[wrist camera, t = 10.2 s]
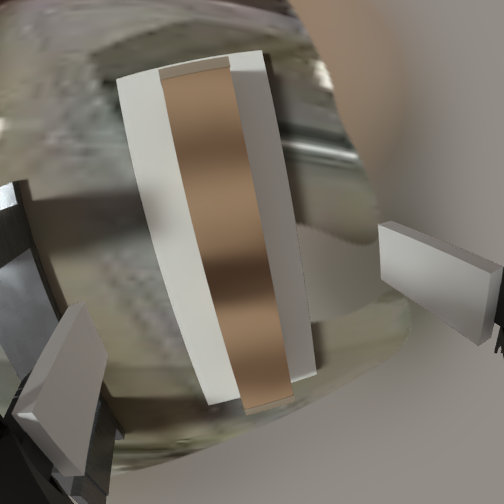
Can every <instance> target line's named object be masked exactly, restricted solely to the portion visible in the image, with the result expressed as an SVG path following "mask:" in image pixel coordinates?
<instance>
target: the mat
mask: <svg viewBox="0 0 504 504" xmlns="http://www.w3.org/2000/svg"><path fill="white" fill-rule="evenodd" d="M225 56H228V57H229V62H230V72H231V77H232V82H233V86H234V91H235V96H236V101H237V105H238V110H239V115H240V120H241V125H242V130H243V134H244V139H245V144H246V149H247V154H248V159H249V164H250V169H251V174H252V179H253V184H254V189H255V194H256V199H257V204H258V209H259V214H260V219H261V224H262V230H263V235H264V240H265V245H266V250H267V256H268V261H269V266H270V271H271V277H272V282H273V287H274V292H275V298H276V303H277V308H278V314H279V319H280V325H281V330H282V336H283V341H284V347H285V352H286V358H287V363H288V369H289V374H290V380H291V383H292V382H295V381H298V380H301V379H304V378H307V377H310V376H313V375H316V374H317V373H316V364H315V356H314V348H313V340H312V332H311V324H310V316H309V309H308V302H307V296H306V287H305V281H304V274H303V268H302V260H301V255H300V247H299V241H298V235H297V229H296V223H295V217H294V211H293V205H292V199H291V193H290V188H289V182H288V176H287V171H286V166H285V160H284V155H283V150H282V144H281V139H280V134H279V129H278V124H277V119H276V114H275V109H274V105H273V100H272V95H271V90H270V86H269V81H268V77H267V72H266V67H265V63H264V59H263V54H262V50H259V51H250V52H242V53H234V54H227V55H221V56H214V57H208V58H203V59H197V60H192V61H187V62H182V63H177V64H173V65H168V66H164V67H160V68H156V69H152V70H148V71H144V72H140V73H136V74H133V75H129V76H126V77H122V78H119V79H116V81H117V87H118V93H119V98H120V104H121V110H122V115H123V120H124V125H125V130H126V135H127V140H128V145H129V149H130V154H131V159H132V163H133V167H134V172H135V176H136V180H137V184H138V189H139V193H140V197H141V201H142V205H143V208H144V212H145V216H146V220H147V224H148V227H149V231H150V235H151V238H152V242H153V245H154V249H155V252H156V256H157V259H158V262H159V266H160V269H161V272H162V276H163V279H164V282H165V285H166V289H167V292H168V295H169V298H170V301H171V304H172V307H173V310H174V313H175V316H176V319H177V322H178V325H179V328H180V331H181V334H182V336H183V339H184V342H185V345H186V348H187V350H188V353H189V356H190V359H191V361H192V364H193V367H194V369H195V372H196V375H197V377H198V380H199V382H200V385H201V388H202V390H203V393H204V395H205V398H206V400H207V403H208V405H212V404H216V403H221V402H225V401H229V400H232V399H236V398H240V393H239V390H238V386H237V383H236V380H235V377H234V373H233V370H232V367H231V364H230V360H229V357H228V354H227V350H226V347H225V343H224V340H223V337H222V333H221V330H220V326H219V323H218V319H217V316H216V312H215V308H214V305H213V301H212V298H211V294H210V290H209V287H208V283H207V279H206V275H205V272H204V268H203V264H202V260H201V256H200V252H199V248H198V245H197V241H196V237H195V233H194V229H193V225H192V220H191V216H190V212H189V208H188V204H187V200H186V195H185V191H184V187H183V183H182V178H181V174H180V169H179V165H178V160H177V156H176V151H175V147H174V142H173V137H172V132H171V128H170V123H169V118H168V113H167V108H166V103H165V98H164V93H163V88H162V85H161V81H160V77H159V71H158V70H159V69H163V68H167V67H171V66H176V65H181V64H186V63H190V62H196V61H201V60H207V59H212V58H219V57H225Z"/></svg>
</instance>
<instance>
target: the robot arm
mask: <svg viewBox="0 0 504 504" xmlns="http://www.w3.org/2000/svg"><path fill="white" fill-rule="evenodd" d="M378 231H379V246H380V268H381V279H382V280H383V281H385V282H386V283H388V284H389V285H391V286H392V287H394V288H395V289H397V290H398V291H400V292H401V293H403V294H404V295H406V296H407V297H409V298H410V299H411V300H413V301H414V302H416V303H417V304H419V305H420V306H422V307H423V308H425V309H426V310H428V311H429V312H431V313H432V314H433V315H435V316H436V317H438V318H439V319H441V320H442V321H444V322H445V323H446V324H448V325H449V326H451V327H452V328H453V329H455V330H456V331H458V332H459V333H461V334H462V335H463V336H465V337H466V338H468V339H469V340H470V341H472V342H473V343H475V344H476V345H477V346H479V345H481V344H482V343H484V342H485V341H486V340H488V339H489V338H491V335H492V330H493V326H494V322H495V323H496V324H498V325H499V326H500V330H499V334H498V338H497V342H496V347H495V353H497V351H498V348H499V347H500V346H501V348H502V350H501V353H503V357H504V267H503V266H501V265H498V264H496V263H494V262H492V261H490V260H487V259H485V258H483V257H480V256H478V255H475V254H473V253H471V252H469V251H466V250H464V249H462V248H459V247H456V246H454V245H452V244H449V243H447V242H445V241H442V240H440V239H437V238H434V237H432V236H429V235H427V234H424V233H422V232H419V231H416V230H414V229H411V228H409V227H406V226H403V225H401V224H398V223H395V222H393V221H389V222H385V223H381V224H378ZM107 360H108V353H107V351H106V349H105V347H104V345H103V343H102V341H101V339H100V336H99V334H98V332H97V330H96V328H95V325H94V323H93V321H92V318H91V316H90V314H89V311H88V309H87V307H86V304H85V302H81V303H77V304H73V305H69V307H68V308H67V310H66V312H65V313H64V315H63V317H62V318H61V320H60V322H59V323H58V325H57V327H56V329H55V330H54V332H53V334H52V335H51V337H50V339H49V341H48V343H47V344H46V346H45V348H44V350H43V352H42V353H41V355H40V357H39V359H38V361H37V363H36V365H35V367H34V369H33V370H31V371H30V372H29V373H28V374H27V375H26V376H25V377H24V378H23V380H22V382H21V384H20V386H19V388H18V391H17V392H16V394H15V396H14V398H13V400H12V402H11V404H10V406H9V408H8V410H7V412H6V414H5V417H4V419H3V417H2V416H1V415H0V504H74V503H73V502H72V501H71V499H70V498H69V497H68V495H67V494H66V492H65V491H64V490H63V488H62V487H61V485H60V484H59V482H58V481H57V480H56V479H55V478H54V477H53V476H52V475H51V473H52V469H53V465H54V466H55V467H56V468H57V469H58V471H59V472H60V473H61V474H62V475H63V476H84V473H85V467H86V460H87V454H88V448H89V442H90V437H91V432H92V426H93V421H94V416H95V411H96V407H97V402H98V397H99V393H100V389H101V384H102V380H103V376H104V372H105V368H106V364H107Z"/></svg>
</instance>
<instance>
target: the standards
mask: <svg viewBox="0 0 504 504" xmlns="http://www.w3.org/2000/svg"><path fill="white" fill-rule="evenodd" d="M61 318H62V316H61V314H60V311H59V309H58V307H57V304H56V302H55V299H54V297H53V294H52V292H51V289H50V287H49V284H48V282H47V279H46V276H45V274H44V271H43V268H42V265H41V262H40V259H39V256H38V253H37V250H36V247H35V244H34V241H33V238H32V235H31V231H30V228H29V225H28V221H27V217H26V214H25V210H24V206H23V202H22V198H21V194H20V190H19V186H18V181H14V182H11V183H9V184H6V185H4V186H2V187H0V344H1V346H2V348H3V349H4V351H5V353H6V355H7V357H8V359H9V361H10V362H11V364H12V366H13V368H14V369H15V371H16V373H17V375H18V376H19V378H20V380H21V381H22V380H23V378H24V377H25V376H26V375H27V374H28V373H29V372H30V371H31V370H33V369H34V367H35V365H36V363H37V361H38V359H39V357H40V355H41V353H42V352H43V350H44V348H45V346H46V344H47V343H48V341H49V339H50V337H51V335H52V334H53V332H54V330H55V329H56V327H57V325H58V323H59V322H60V320H61ZM124 435H125V432H124V431H123V429H122V428H121V426H120V425H119V423H118V422H117V420H116V418H115V417H114V415H113V414H112V412H111V410H110V409H109V407H108V405H107V404H106V402H105V400H104V399H103V397H102V395H101V393H99V397H98V402H97V407H96V411H95V416H94V421H93V426H92V432H91V437H90V442H89V448H88V454H87V460H86V467H85V473H84V476H63V475H62V474H61V473H60V472H59V471H58V469H57V468H56V467H55V466H54V465H53V469H52V473H51V475H52V476H53V477H54V478H55V479H56V480H57V481H58V482H59V484H60V485H61V487H62V488H63V490H64V491H65V492H66V494H67V495H69V496H71V497H72V498H73V499H74V500H75V501H76V502H77V503H78V504H106V496H108V494H109V483H110V474H111V466H112V458H113V450H114V443H115V440H121V439H124Z"/></svg>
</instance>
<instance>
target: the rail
mask: <svg viewBox="0 0 504 504" xmlns="http://www.w3.org/2000/svg"><path fill="white" fill-rule="evenodd" d="M158 71H159V77H160V81H161V85H162V88H163V93H164V98H165V103H166V108H167V113H168V118H169V123H170V128H171V132H172V137H173V142H174V147H175V151H176V156H177V160H178V165H179V169H180V174H181V178H182V183H183V187H184V191H185V195H186V200H187V204H188V208H189V212H190V216H191V220H192V225H193V229H194V233H195V237H196V241H197V245H198V248H199V252H200V256H201V260H202V264H203V268H204V272H205V275H206V279H207V283H208V287H209V290H210V294H211V298H212V301H213V305H214V308H215V312H216V316H217V319H218V323H219V326H220V330H221V333H222V337H223V340H224V343H225V347H226V350H227V354H228V357H229V360H230V364H231V367H232V370H233V373H234V377H235V380H236V383H237V386H238V390H239V393H240V397H241V401H242V404H243V408H244V411H245V414H246V416H247V415H250V414H254V413H258V412H261V411H265V410H268V409H271V408H275V407H278V406H281V405H285V404H288V403H291V402H294V401H295V398H294V394H293V391H292V386H291V380H290V374H289V369H288V363H287V358H286V352H285V347H284V341H283V336H282V330H281V325H280V319H279V314H278V308H277V303H276V298H275V292H274V287H273V282H272V277H271V271H270V266H269V261H268V256H267V250H266V245H265V240H264V235H263V230H262V224H261V219H260V214H259V209H258V204H257V199H256V194H255V189H254V184H253V179H252V174H251V169H250V164H249V159H248V154H247V149H246V144H245V139H244V134H243V130H242V125H241V120H240V115H239V110H238V105H237V101H236V96H235V91H234V86H233V82H232V77H231V72H230V62H229V57H228V56H225V57H219V58H212V59H207V60H201V61H196V62H190V63H186V64H181V65H176V66H171V67H167V68H163V69H159V70H158Z"/></svg>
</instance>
